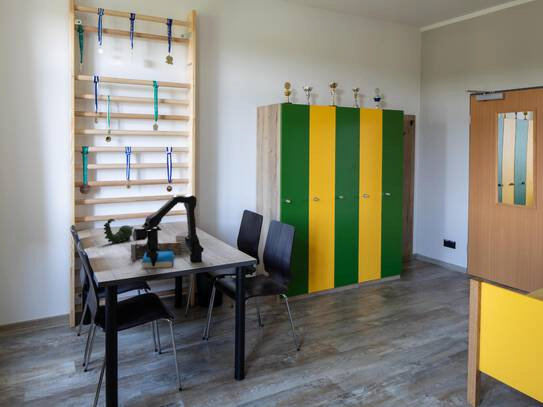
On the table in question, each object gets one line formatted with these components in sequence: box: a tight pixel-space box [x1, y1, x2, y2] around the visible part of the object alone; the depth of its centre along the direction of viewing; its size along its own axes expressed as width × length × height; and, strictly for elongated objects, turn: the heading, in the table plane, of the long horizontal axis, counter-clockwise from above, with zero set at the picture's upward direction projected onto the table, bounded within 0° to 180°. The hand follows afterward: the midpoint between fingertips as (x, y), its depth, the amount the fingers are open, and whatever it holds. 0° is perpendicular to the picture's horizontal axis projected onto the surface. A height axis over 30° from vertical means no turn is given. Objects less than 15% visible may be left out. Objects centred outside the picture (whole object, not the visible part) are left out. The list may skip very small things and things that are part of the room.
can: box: [174, 231, 191, 254], centre depth 297 cm, size 11×11×12 cm
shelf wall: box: [130, 241, 182, 258], centre depth 285 cm, size 30×2×8 cm, turn 101°
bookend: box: [131, 240, 138, 262], centre depth 276 cm, size 2×10×10 cm, turn 11°
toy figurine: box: [103, 218, 135, 244], centre depth 327 cm, size 9×19×25 cm
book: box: [141, 251, 175, 269], centre depth 271 cm, size 17×4×25 cm
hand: (153, 266), depth 257 cm, fingers closed
